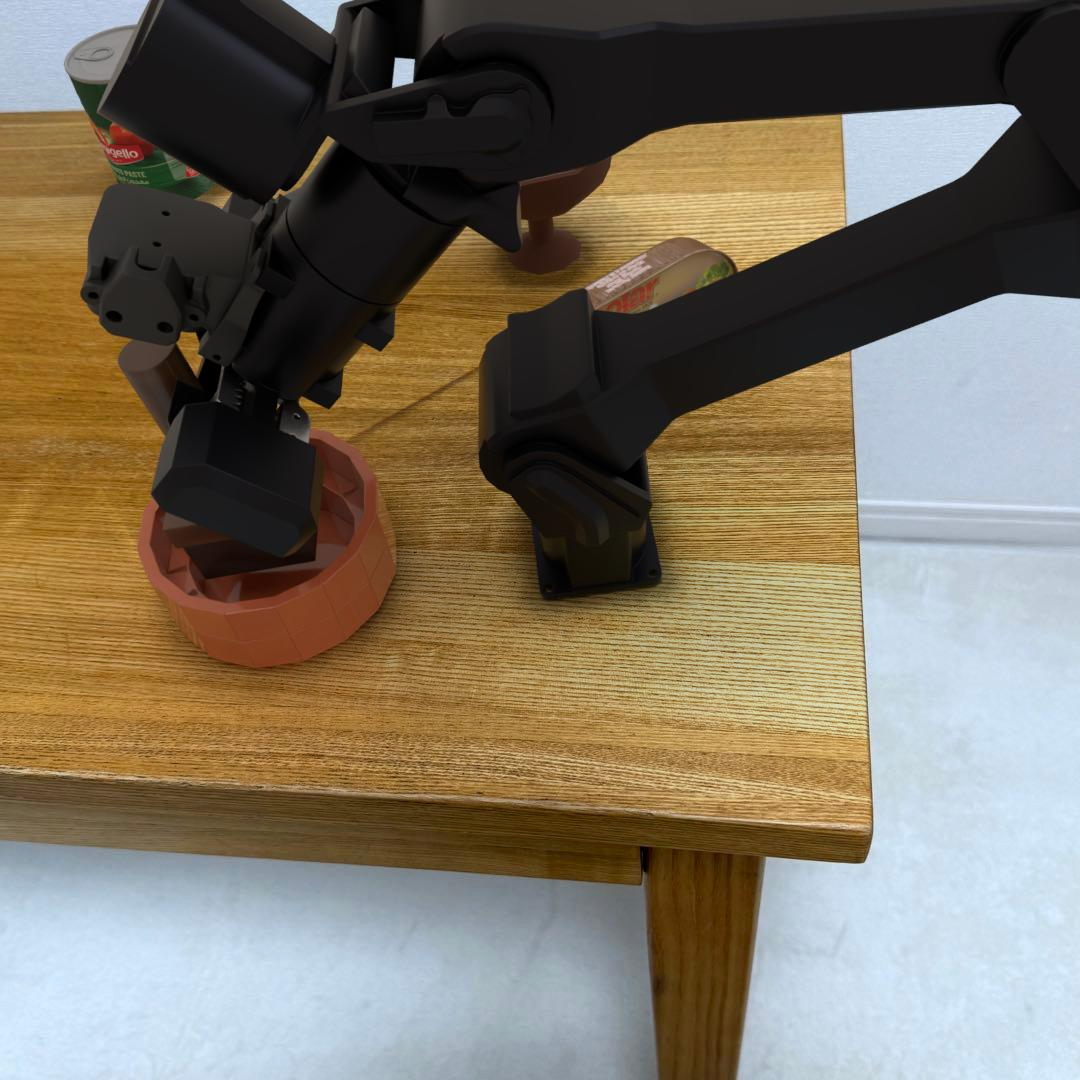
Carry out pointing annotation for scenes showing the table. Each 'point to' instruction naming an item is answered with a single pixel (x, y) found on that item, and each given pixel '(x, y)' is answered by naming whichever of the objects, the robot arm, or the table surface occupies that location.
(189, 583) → the bowl
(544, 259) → the ice cream bowl
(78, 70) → the canned tomato
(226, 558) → the brush
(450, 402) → the table surface
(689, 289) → the tin
